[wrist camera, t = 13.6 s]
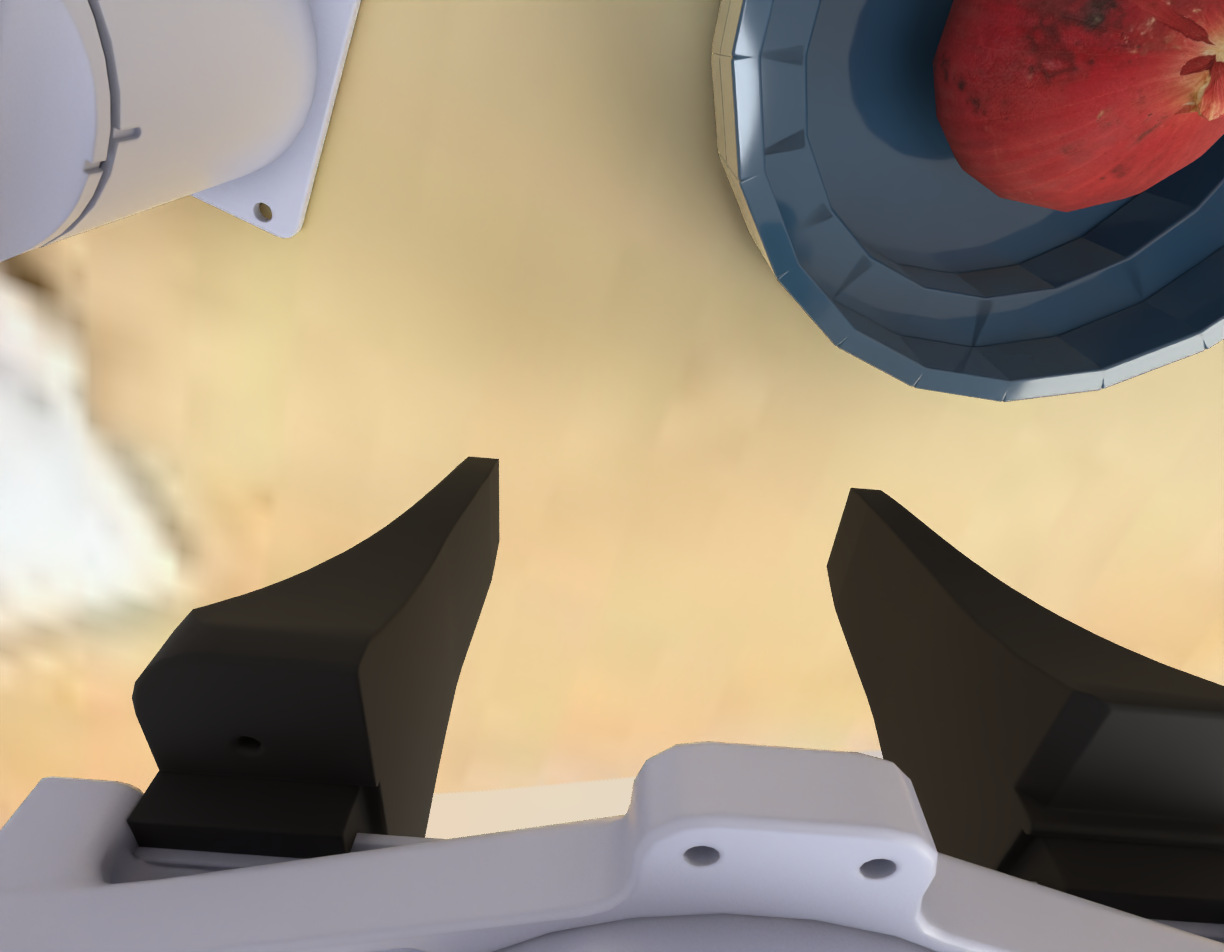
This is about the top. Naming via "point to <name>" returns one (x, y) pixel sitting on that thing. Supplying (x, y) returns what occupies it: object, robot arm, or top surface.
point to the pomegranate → (1079, 94)
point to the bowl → (945, 217)
